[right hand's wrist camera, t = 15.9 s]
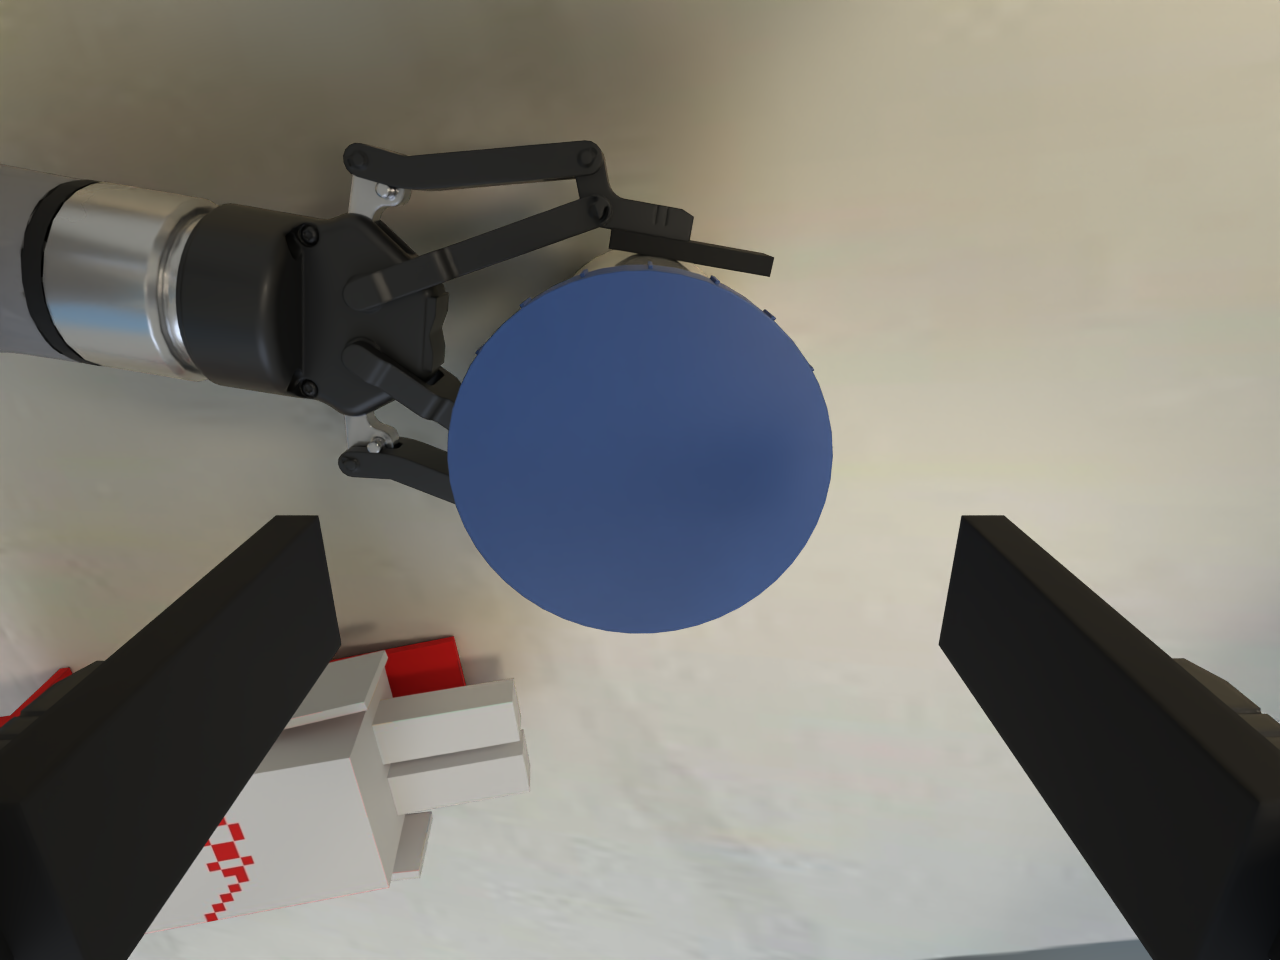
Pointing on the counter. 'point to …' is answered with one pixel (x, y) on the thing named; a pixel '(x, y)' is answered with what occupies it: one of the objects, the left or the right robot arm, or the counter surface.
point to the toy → (354, 784)
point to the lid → (639, 449)
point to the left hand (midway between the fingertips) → (740, 381)
